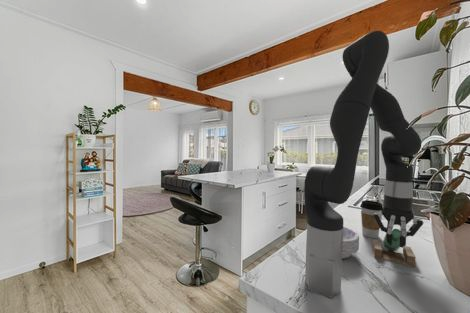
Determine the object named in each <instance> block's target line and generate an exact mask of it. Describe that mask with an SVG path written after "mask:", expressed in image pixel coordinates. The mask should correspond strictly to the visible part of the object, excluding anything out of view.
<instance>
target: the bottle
mask: <svg viewBox="0 0 470 313" xmlns="http://www.w3.org/2000/svg"><path fill="white" fill-rule="evenodd" d="M401 234H402V233H401V229H398V228H394V229H392V245H389V243H387V241H386V234H385V236H384V238H383V240H382V241H383V242H382V245H383V247H384V248H385V250H388V251H393V252H398V251H399V249H400V248H401V247H400V245H399V242H400V236H401Z"/></svg>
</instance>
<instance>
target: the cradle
mask: <svg viewBox="0 0 470 313" xmlns="http://www.w3.org/2000/svg"><path fill="white" fill-rule="evenodd" d="M373 255H374V259H375V258H376V259H380V260H384V261H389V262H393V263H396V264H401V265H404V266H405V265H406V266H410V267H414V268H415V267H416V255H415V253H414V251H413V249H412V247H411V246H409V245H408V246H406V245H405V246H403V249H402V252H398V251H395V252H393V251H388V250H387V249H383V248H382V245H381V240H377V239H373Z"/></svg>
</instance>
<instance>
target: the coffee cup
mask: <svg viewBox="0 0 470 313" xmlns="http://www.w3.org/2000/svg"><path fill="white" fill-rule="evenodd" d="M383 207H384V206H383V204H382V203H381V202H378V201H375V200H362V201H361V204H360V208H361V211H360V214H361V228H362V230H361V232H362V236H364V237H367V238H372V239H378V238H379V234H380V230H381V229H380V227H379V225H378V223H377V221H376V219H375V218H374V215H373V213H375V212H376V213H379V212H381V211H382V209H383ZM380 220H381V221H382V219H380Z"/></svg>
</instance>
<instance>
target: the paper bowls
mask: <svg viewBox="0 0 470 313" xmlns="http://www.w3.org/2000/svg"><path fill="white" fill-rule="evenodd" d="M359 248H360V236H359V234H358V232H356V231H355V230H354V229H351V228H349V227H345V226H343V244H342V260H343V259H348V258H349V257H351V256H352V254H356V253H357V252H358V251H359Z"/></svg>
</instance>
